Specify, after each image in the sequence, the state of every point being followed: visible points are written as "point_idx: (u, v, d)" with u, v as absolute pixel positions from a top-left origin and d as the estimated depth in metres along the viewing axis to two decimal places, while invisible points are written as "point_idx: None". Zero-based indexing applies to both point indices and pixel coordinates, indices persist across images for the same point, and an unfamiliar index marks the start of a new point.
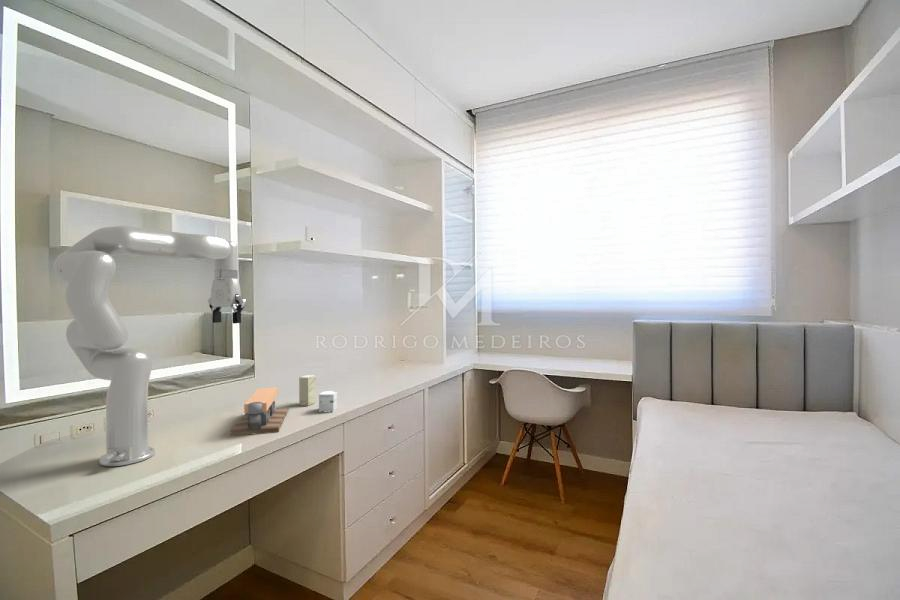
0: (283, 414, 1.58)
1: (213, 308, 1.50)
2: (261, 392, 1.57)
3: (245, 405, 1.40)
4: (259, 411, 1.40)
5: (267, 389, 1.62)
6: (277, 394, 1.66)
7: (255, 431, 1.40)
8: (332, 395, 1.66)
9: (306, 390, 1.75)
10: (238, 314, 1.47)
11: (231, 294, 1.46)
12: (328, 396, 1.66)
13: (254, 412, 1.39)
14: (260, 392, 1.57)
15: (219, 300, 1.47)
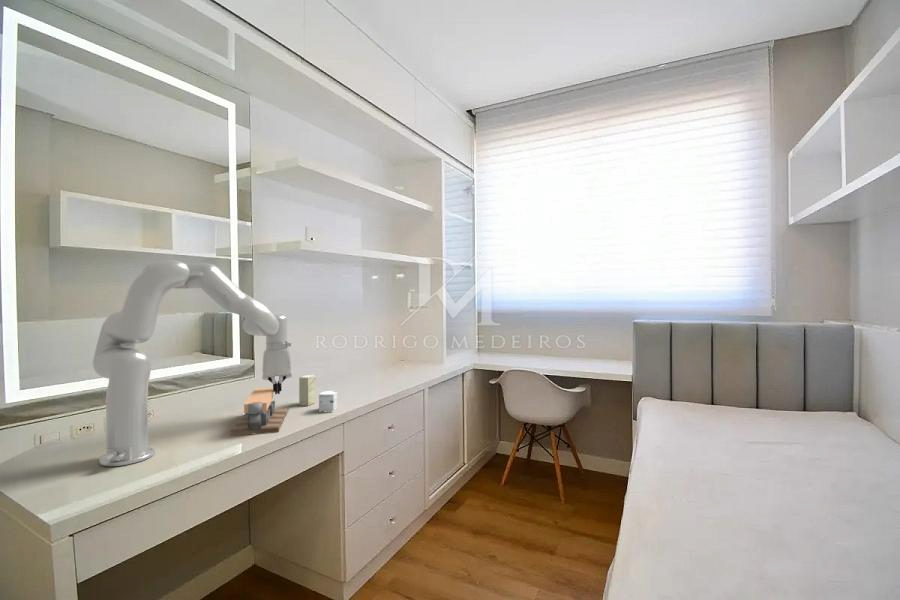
0: (283, 414, 1.58)
1: None
2: (258, 392, 1.57)
3: (245, 405, 1.40)
4: (259, 411, 1.40)
5: (263, 389, 1.62)
6: (273, 394, 1.65)
7: (255, 431, 1.40)
8: (332, 395, 1.66)
9: (306, 390, 1.75)
10: (273, 385, 1.61)
11: None
12: (328, 396, 1.66)
13: (254, 412, 1.39)
14: (257, 392, 1.57)
15: None
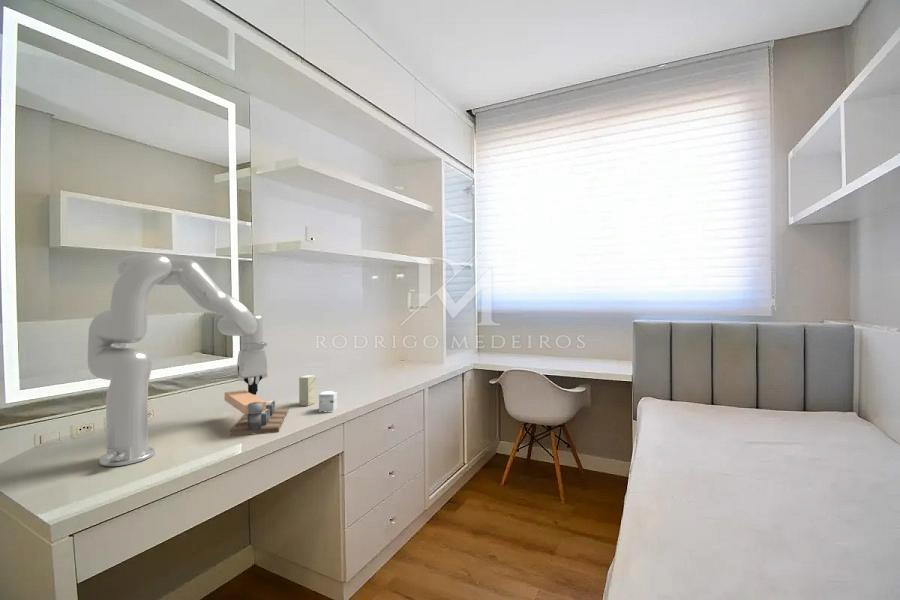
0: (283, 414, 1.58)
1: None
2: (237, 395, 1.53)
3: (245, 406, 1.39)
4: (261, 410, 1.41)
5: (237, 392, 1.57)
6: None
7: (255, 431, 1.40)
8: (332, 395, 1.66)
9: (306, 390, 1.75)
10: (248, 386, 1.58)
11: (237, 365, 1.57)
12: (328, 396, 1.66)
13: (257, 412, 1.40)
14: (236, 395, 1.53)
15: None
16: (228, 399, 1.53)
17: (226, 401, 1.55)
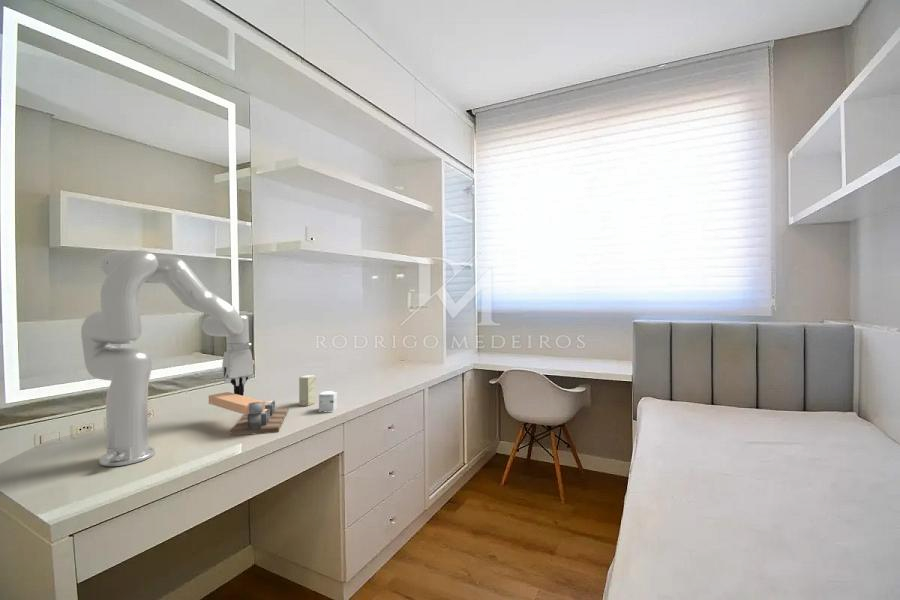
0: (283, 414, 1.58)
1: None
2: (226, 397, 1.50)
3: (246, 406, 1.39)
4: (262, 410, 1.42)
5: (223, 394, 1.54)
6: None
7: (255, 431, 1.40)
8: (332, 395, 1.66)
9: (306, 390, 1.75)
10: (234, 388, 1.55)
11: (222, 366, 1.53)
12: (328, 396, 1.66)
13: (259, 411, 1.40)
14: (225, 397, 1.50)
15: None
16: (216, 402, 1.49)
17: (212, 404, 1.51)
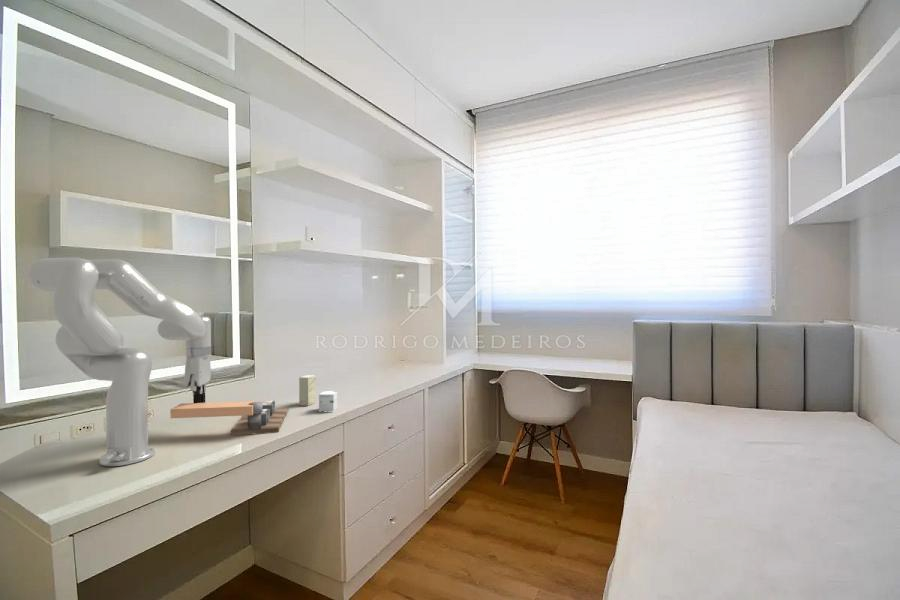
0: (283, 414, 1.58)
1: None
2: (200, 406, 1.38)
3: (252, 407, 1.38)
4: None
5: (186, 405, 1.38)
6: None
7: (255, 431, 1.40)
8: (332, 395, 1.66)
9: (306, 390, 1.75)
10: (196, 397, 1.42)
11: (185, 374, 1.38)
12: (328, 396, 1.66)
13: (262, 410, 1.42)
14: (199, 406, 1.37)
15: None
16: (188, 413, 1.35)
17: (179, 417, 1.34)
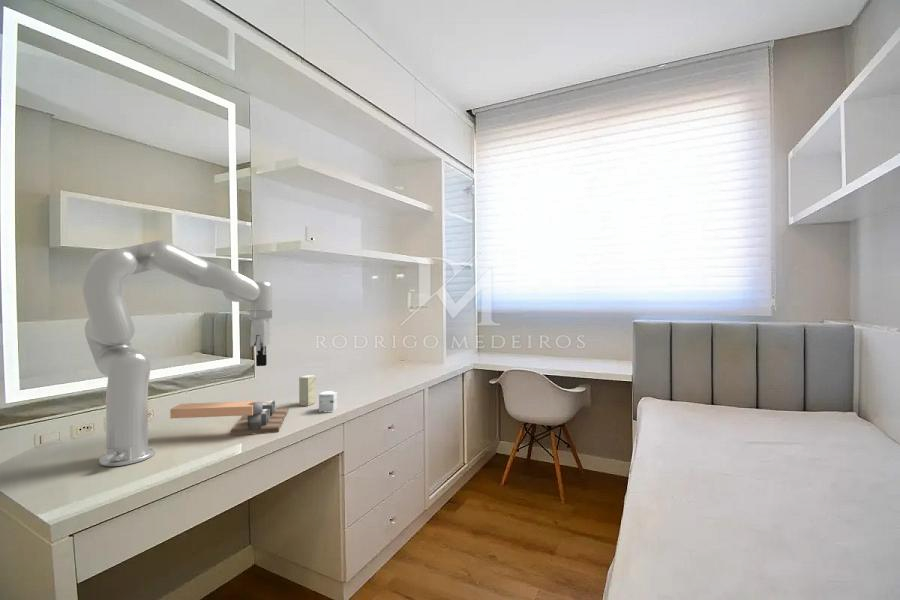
0: (283, 414, 1.58)
1: None
2: (200, 406, 1.37)
3: (252, 407, 1.38)
4: None
5: (186, 405, 1.38)
6: None
7: (255, 431, 1.40)
8: (332, 395, 1.66)
9: (306, 390, 1.75)
10: (259, 357, 1.49)
11: (251, 335, 1.45)
12: (328, 396, 1.66)
13: (262, 410, 1.42)
14: (199, 406, 1.37)
15: None
16: (188, 413, 1.35)
17: (179, 417, 1.34)
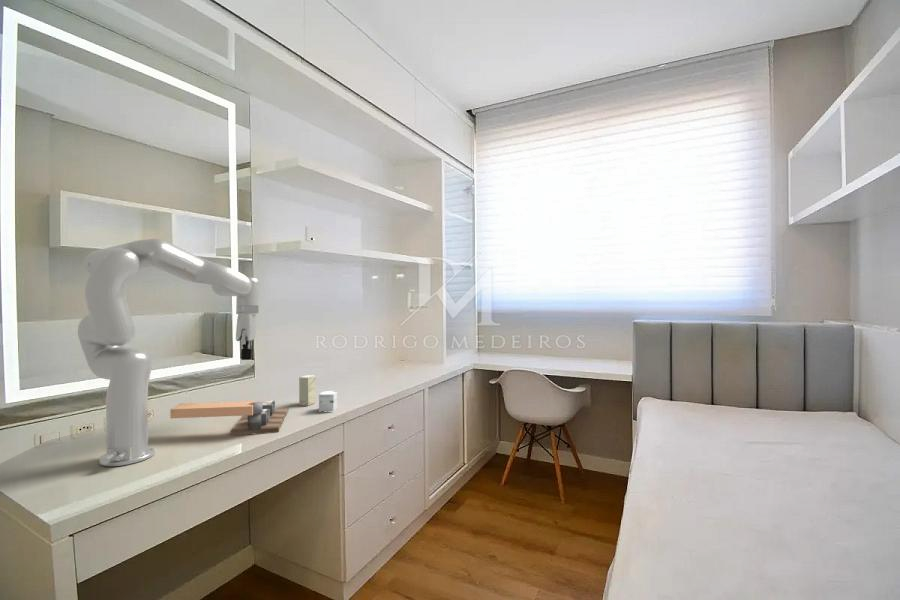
0: (283, 414, 1.58)
1: None
2: (200, 406, 1.37)
3: (252, 407, 1.38)
4: None
5: (186, 405, 1.38)
6: None
7: (255, 431, 1.40)
8: (332, 395, 1.66)
9: (306, 390, 1.75)
10: (244, 351, 1.53)
11: (237, 329, 1.49)
12: (328, 396, 1.66)
13: (262, 410, 1.42)
14: (199, 406, 1.37)
15: None
16: (188, 413, 1.35)
17: (179, 417, 1.34)
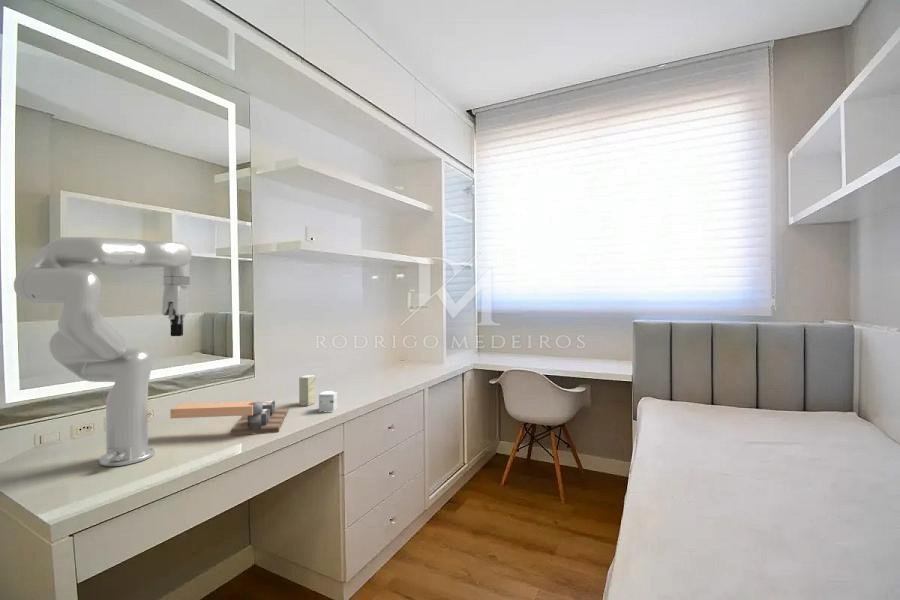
0: (283, 414, 1.58)
1: None
2: (200, 406, 1.37)
3: (252, 407, 1.38)
4: None
5: (186, 405, 1.38)
6: None
7: (255, 431, 1.40)
8: (332, 395, 1.66)
9: (306, 390, 1.75)
10: (174, 327, 1.40)
11: (163, 302, 1.36)
12: (328, 396, 1.66)
13: (262, 410, 1.42)
14: (199, 406, 1.37)
15: None
16: (188, 413, 1.35)
17: (179, 417, 1.34)
